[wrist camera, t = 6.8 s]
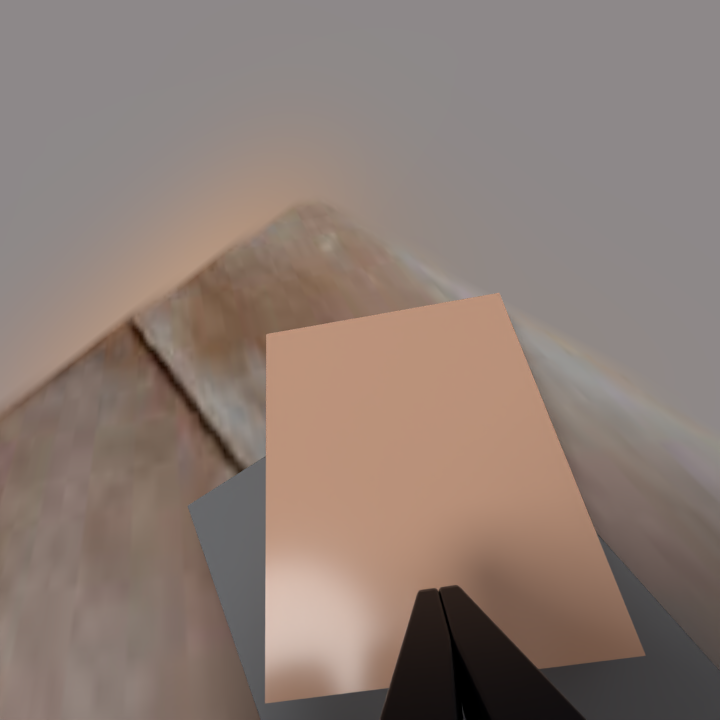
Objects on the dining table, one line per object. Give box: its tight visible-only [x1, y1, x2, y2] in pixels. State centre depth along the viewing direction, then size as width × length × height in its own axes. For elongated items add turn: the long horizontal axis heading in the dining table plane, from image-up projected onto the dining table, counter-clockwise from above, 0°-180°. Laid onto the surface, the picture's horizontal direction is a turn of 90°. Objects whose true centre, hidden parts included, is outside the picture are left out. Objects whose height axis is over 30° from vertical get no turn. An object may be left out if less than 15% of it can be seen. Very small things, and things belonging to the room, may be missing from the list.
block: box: [265, 293, 646, 703], centre depth 14 cm, size 2×10×12 cm
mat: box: [188, 456, 720, 720], centre depth 13 cm, size 15×13×1 cm
